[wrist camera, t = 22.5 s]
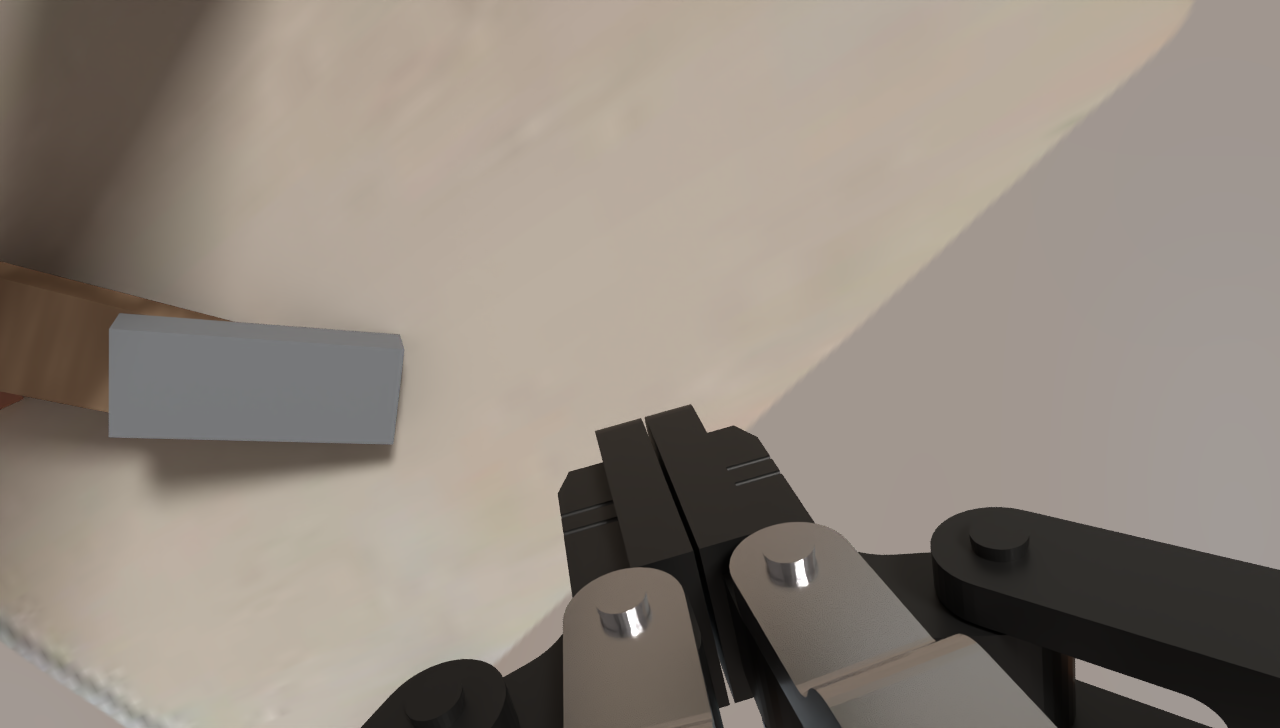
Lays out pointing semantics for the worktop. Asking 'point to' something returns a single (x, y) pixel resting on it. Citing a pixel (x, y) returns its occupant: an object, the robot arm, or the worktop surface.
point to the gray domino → (251, 381)
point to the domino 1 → (8, 399)
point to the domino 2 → (63, 335)
